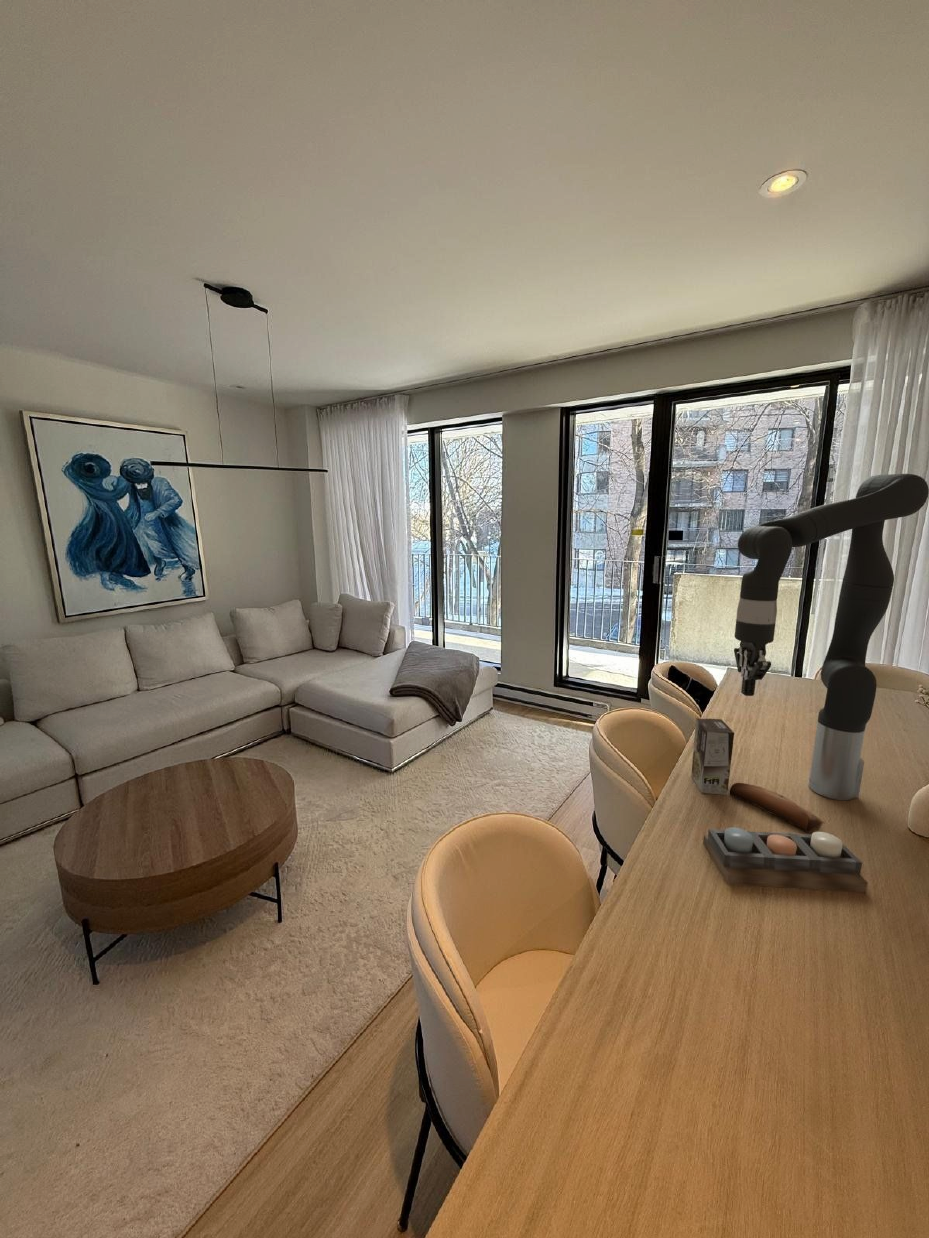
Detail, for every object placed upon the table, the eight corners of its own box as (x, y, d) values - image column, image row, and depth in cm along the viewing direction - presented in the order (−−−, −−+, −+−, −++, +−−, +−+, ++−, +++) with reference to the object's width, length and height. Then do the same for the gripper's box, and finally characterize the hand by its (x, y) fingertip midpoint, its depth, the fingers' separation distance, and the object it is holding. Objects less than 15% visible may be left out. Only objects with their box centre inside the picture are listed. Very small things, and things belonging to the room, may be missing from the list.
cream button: (830, 846, 99) (832, 832, 99) (846, 862, 94) (848, 848, 94) (804, 844, 100) (806, 831, 99) (818, 860, 95) (821, 846, 94)
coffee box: (728, 795, 123) (735, 733, 120) (700, 793, 124) (706, 731, 121) (716, 776, 132) (722, 718, 129) (690, 775, 133) (695, 716, 130)
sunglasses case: (828, 822, 112) (823, 802, 110) (811, 845, 110) (806, 825, 107) (748, 785, 128) (743, 767, 125) (732, 805, 125) (726, 787, 123)
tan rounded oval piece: (786, 848, 100) (788, 835, 99) (800, 865, 95) (802, 850, 95) (761, 847, 100) (762, 833, 100) (773, 863, 96) (775, 849, 95)
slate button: (744, 841, 100) (746, 828, 100) (756, 857, 96) (757, 843, 95) (719, 840, 101) (720, 826, 100) (729, 856, 96) (731, 841, 96)
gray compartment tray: (825, 849, 103) (828, 829, 102) (866, 891, 91) (869, 869, 91) (702, 843, 105) (704, 823, 104) (727, 883, 93) (729, 862, 93)
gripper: (790, 625, 104) (780, 705, 108) (759, 613, 117) (751, 685, 121) (752, 625, 105) (743, 704, 108) (725, 613, 118) (718, 684, 121)
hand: (747, 694), depth 114 cm, fingers closed
